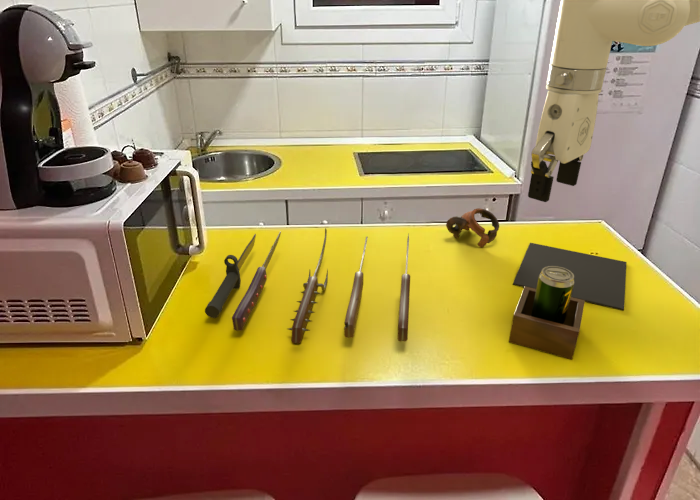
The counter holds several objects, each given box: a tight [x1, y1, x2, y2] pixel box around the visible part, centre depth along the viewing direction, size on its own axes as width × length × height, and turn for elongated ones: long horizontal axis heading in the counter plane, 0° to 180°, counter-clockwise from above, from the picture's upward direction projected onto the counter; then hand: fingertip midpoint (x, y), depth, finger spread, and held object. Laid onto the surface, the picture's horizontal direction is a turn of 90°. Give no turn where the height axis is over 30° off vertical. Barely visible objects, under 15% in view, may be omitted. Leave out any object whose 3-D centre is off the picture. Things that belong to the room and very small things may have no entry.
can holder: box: [508, 286, 586, 360], centre depth 87 cm, size 10×10×6 cm
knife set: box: [204, 227, 411, 344], centre depth 98 cm, size 35×33×8 cm
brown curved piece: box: [445, 207, 500, 248], centre depth 119 cm, size 12×9×8 cm
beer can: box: [531, 266, 574, 325], centre depth 86 cm, size 5×5×12 cm
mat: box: [512, 242, 627, 312], centre depth 107 cm, size 20×20×1 cm
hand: (552, 191), depth 82 cm, fingers open, 9 cm apart
